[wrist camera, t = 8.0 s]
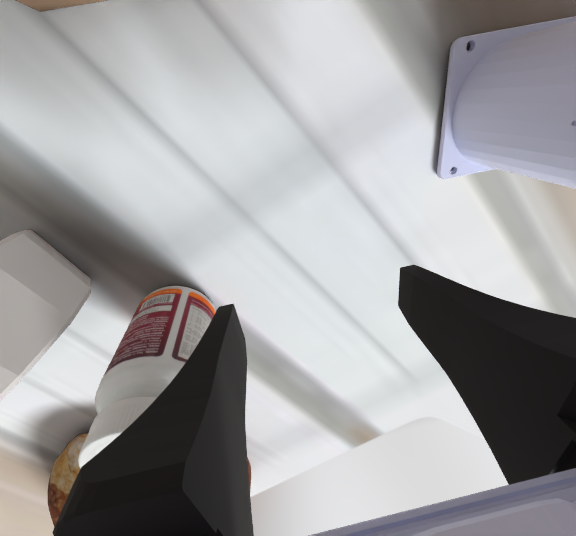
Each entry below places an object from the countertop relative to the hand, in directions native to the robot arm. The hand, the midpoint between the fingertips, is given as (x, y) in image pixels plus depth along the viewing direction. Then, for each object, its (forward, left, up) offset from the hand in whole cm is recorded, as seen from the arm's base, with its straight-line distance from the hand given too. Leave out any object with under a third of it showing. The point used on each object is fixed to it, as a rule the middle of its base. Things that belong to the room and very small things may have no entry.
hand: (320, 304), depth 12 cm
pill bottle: (+10, +6, -10) cm, 15 cm away
